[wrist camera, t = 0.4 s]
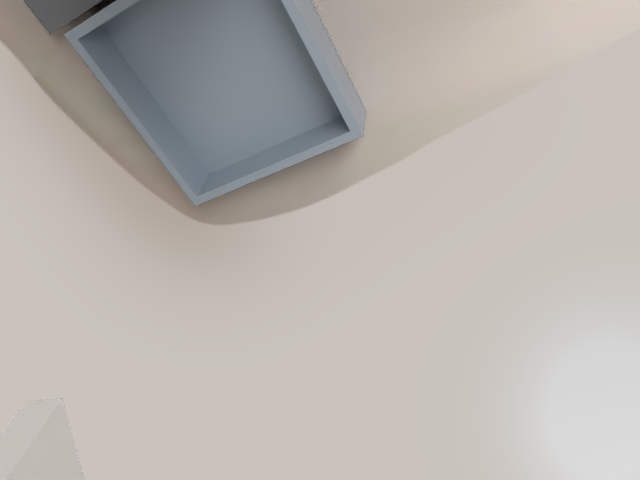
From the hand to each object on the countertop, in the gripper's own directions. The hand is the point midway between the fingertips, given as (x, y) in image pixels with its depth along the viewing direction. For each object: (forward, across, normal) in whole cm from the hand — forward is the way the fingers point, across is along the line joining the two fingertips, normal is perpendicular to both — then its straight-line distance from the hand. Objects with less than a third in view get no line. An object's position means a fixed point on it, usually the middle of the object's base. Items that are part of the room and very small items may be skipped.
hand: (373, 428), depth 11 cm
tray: (+27, -6, +7) cm, 29 cm away
